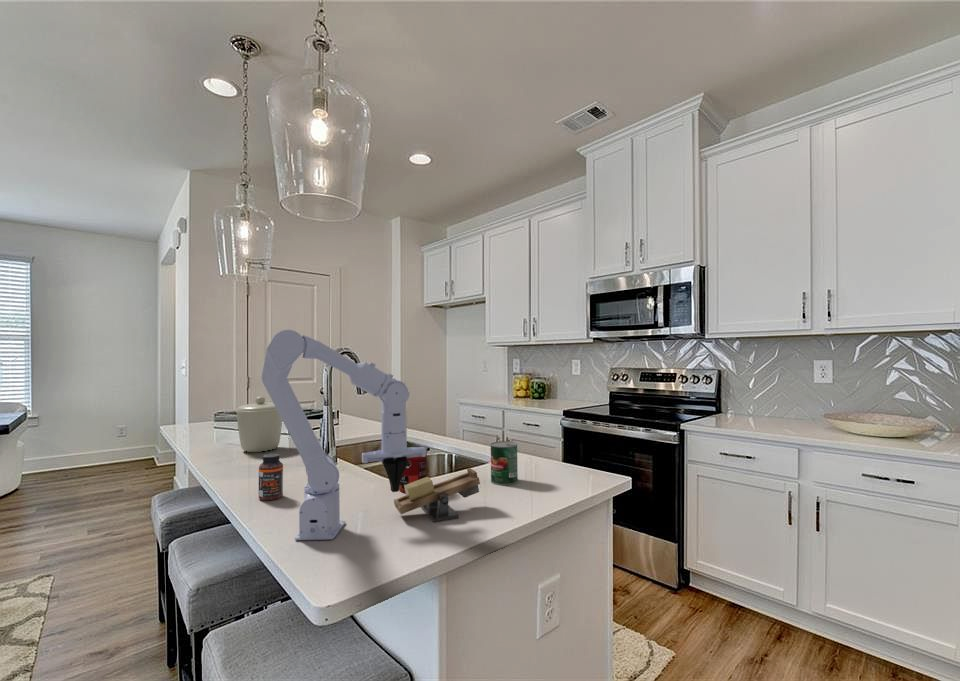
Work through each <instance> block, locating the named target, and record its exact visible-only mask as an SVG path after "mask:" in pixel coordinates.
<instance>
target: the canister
mask: <svg viewBox="0 0 960 681" xmlns="http://www.w3.org/2000/svg"><path fill="white" fill-rule="evenodd" d="M254 400H255V403H248V404H243V405H240V406H238V407H237V408H236V409H234V412H235V413H236V419H237V429H238V435H239V442H240V443H239V444H240V447H241V449H242V451H244V452H246V451H247V453H263V452H262V451H265V452H269V451H268V450H270V451H273V450H275V449H277V448H278V446H279V445H280V442H281V441H280V440H281V436H282V427H283V421H282V419H281V417H280V415H279V413H278V411H277V409H276V407H275V405H274V403H273V402H266V398H265V396H257V397H255V399H254ZM276 447H277V448H276ZM272 449H273V450H272Z"/></svg>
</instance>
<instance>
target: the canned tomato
mask: <svg viewBox="0 0 960 681" xmlns="http://www.w3.org/2000/svg"><path fill="white" fill-rule="evenodd" d="M518 472H519V471H518V443H517V442H515V441H508V440H505V441H504V440H502V441H494V442H491V443H490V483H492V484H493V485H498V486H511V485H512V486H513V485H515V484H517V483H518V482H519V480H518V478H519V476H518Z"/></svg>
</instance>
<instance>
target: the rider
mask: <svg viewBox="0 0 960 681" xmlns="http://www.w3.org/2000/svg"><path fill="white" fill-rule="evenodd" d="M433 485H434V484H433V480H432V479H431V478H430V477H429V476H427V477H425V478H423V479H420V480H417V481H414V482H412V483H409V484H406V485H404V488H405V492H406V493H405V495H406V496H407V500H408V501H409V502H412V501H415V500H418V499H420V498H423V497H426V496H428V495H431V494H434V493H435V491H434V486H433Z"/></svg>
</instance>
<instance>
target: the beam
mask: <svg viewBox="0 0 960 681" xmlns="http://www.w3.org/2000/svg"><path fill="white" fill-rule="evenodd" d="M466 470H467V472H465V473H463V474H460V475H457V476H455V477H451V478H449V479H447V480H444V481H440V482H437V483H435V484H433V486H434V491H435V493H434V494H431V495H428V496H426V497H423V498H420V499H418V500H415V501H412V502H409V501H408V500H407V496H406V494H404V495H403V496H400V497H397V498H395V499H393V504H394V507H395V508H396V510H397V512H398V513H399V514H400V515H404V514H406V513H408V512H411V511H414V510H416V509H419V508H421V507H422V506H424V505H427V504H430V503H432V502H435V501H437V500H438V495H439V494H446V493H447V494H448V497H450V496H453V495H455V494H459V495H460V496H462V497H463V498H464V499H465V498H468V497H470V496H472V495H475V494H478V493H480V489H479V485H481V480H480V478H479V476H478V472H477V471H475V470H474V469H473V468H471V467H469V468H466Z"/></svg>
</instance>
